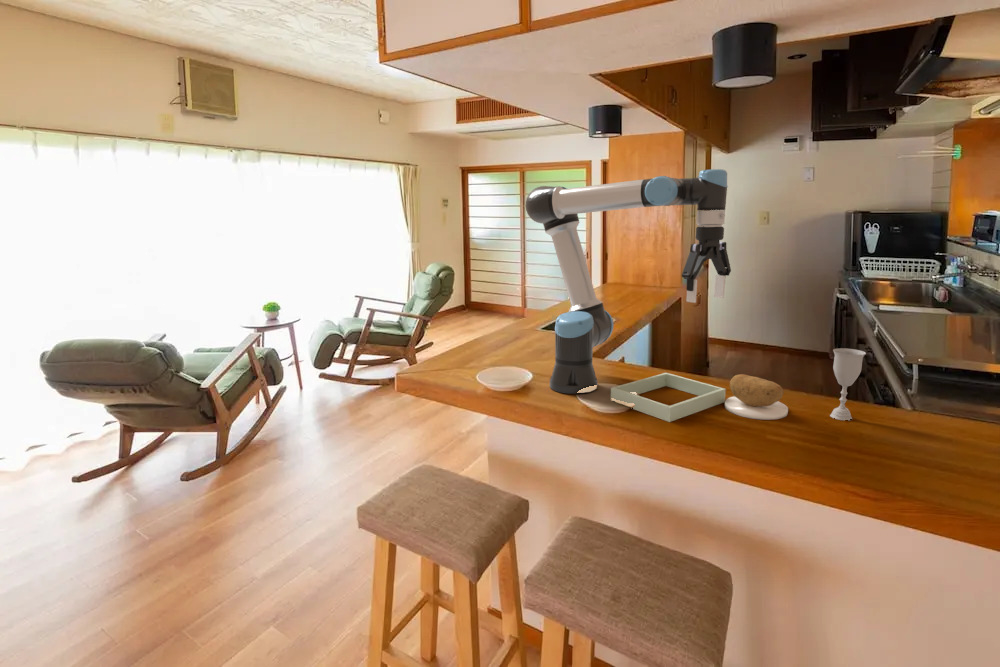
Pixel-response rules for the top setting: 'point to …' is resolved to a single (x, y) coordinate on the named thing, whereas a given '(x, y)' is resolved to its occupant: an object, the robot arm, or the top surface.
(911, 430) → the top surface
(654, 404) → the crate
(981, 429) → the top surface
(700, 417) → the top surface
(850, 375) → the chalice
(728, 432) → the top surface
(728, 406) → the plate
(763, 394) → the potato
